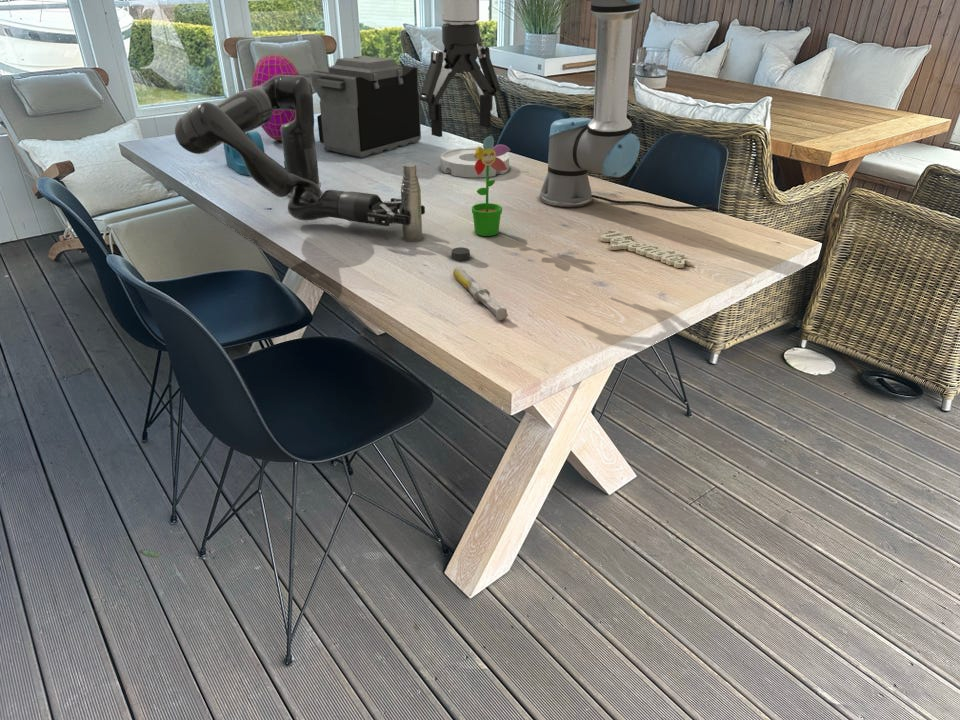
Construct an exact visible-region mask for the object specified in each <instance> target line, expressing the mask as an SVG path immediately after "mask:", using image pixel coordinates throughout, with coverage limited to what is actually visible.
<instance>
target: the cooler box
mask: <svg viewBox="0 0 960 720" xmlns="http://www.w3.org/2000/svg"><path fill="white" fill-rule="evenodd" d="M310 79H311V87H313V88H312V89H313V90H314V91H315V93H316V94H317V96H318V98H319V110H320V111H319V112H320V114H319V115H317V116H316V119H317V128H318V138H319V143H320V144H323V146H324V149H325V150H327V151H330V152H335V153H340V154H344V155H348V156H353V157H357V158H362V159H363V158H366V157H367V158H368V157H369V155H371V154H375V155H377V154H381V153H382V152H383V151H391V150H395V149H396V148H397V147H405V146H407V145H408V144H416V143H418V142H419V141H421V137H422V128H421V100H420V98H419V97H420V92H419V91H420V89H419V68H418V67H417V66H408V65H400V64H396V62H395V60H394V59H393V58H385V57H377V56H367V55H356V56H353V57H350V58H349V57H343V58H342V57H341V58H337V59H336V60H335V63H334V64H333V65H330V66H329V67H328V72H327V71H320V70H314V71H313V70H312V71H310Z"/></svg>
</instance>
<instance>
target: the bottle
mask: <svg viewBox="0 0 960 720" xmlns="http://www.w3.org/2000/svg"><path fill="white" fill-rule="evenodd" d="M402 168H403V175H402V179H401V185H400V188H401V189H400V199H401V202H402V215H408V216H410V224H409V225H403V224H402V239H403V241H406V242H419V241H422V239H423V223H422V222H423V221H422V217H423V216H422V215H421V205H422V191H421V185H420V181H419V177H418V176H419V175H418V174H417V164H416V163H413V162H407V163H404V164H403V165H402Z"/></svg>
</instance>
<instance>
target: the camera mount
mask: <svg viewBox="0 0 960 720" xmlns="http://www.w3.org/2000/svg"><path fill="white" fill-rule="evenodd" d="M246 134H247V135H248V136H249V137H250V138H251V139H252V140H253V142H254V143H255V144H256V145H257V146H258V147H259V148H260V149H261V150H262V151H263V152H264V153H266V152H265V145H264V141H263V139H262V136H261V134H260V132H258V131H248V132H246ZM222 144H223V149H224V150H223V151H224V156H225V161H226V165H227V166H228V167H230V168H231V169H232V170H234V171H236V172H237V173H238V174H239V175H244V176H251V175H250V174H249V172H248V170H247V168H246V166H245V163H244V161H243V159H242V157H241V156H240V154H239V153H238V152H237V151H236V150H235V149H234V148H232V147H231V146H229V145H227V144H225V143H222Z"/></svg>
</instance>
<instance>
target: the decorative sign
mask: <svg viewBox="0 0 960 720" xmlns="http://www.w3.org/2000/svg"><path fill="white" fill-rule="evenodd" d="M600 241H602V242H605V243H609V244H610V245H609V250H610V251H617V250H618V251H619V250H627V251H628V252H634V253H635V254H637V255H640V256H645V257H647V258H649V259H653V260H654V261H660V262H661V263H663V264H666V265H668V266H673V267H674V268H677V269H684V267H685V265H686V266H687V267H688V266H691V259H688V258H685V253H683V252H676V253H675V250H674V249H663V250H660V248H659V246H657V245H656V244H651V243H649V242H643V243H641V242H637V241H633V235H632V234H621V231H620V230H617V229H607V232H606V233H604V234H601V236H600Z"/></svg>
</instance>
